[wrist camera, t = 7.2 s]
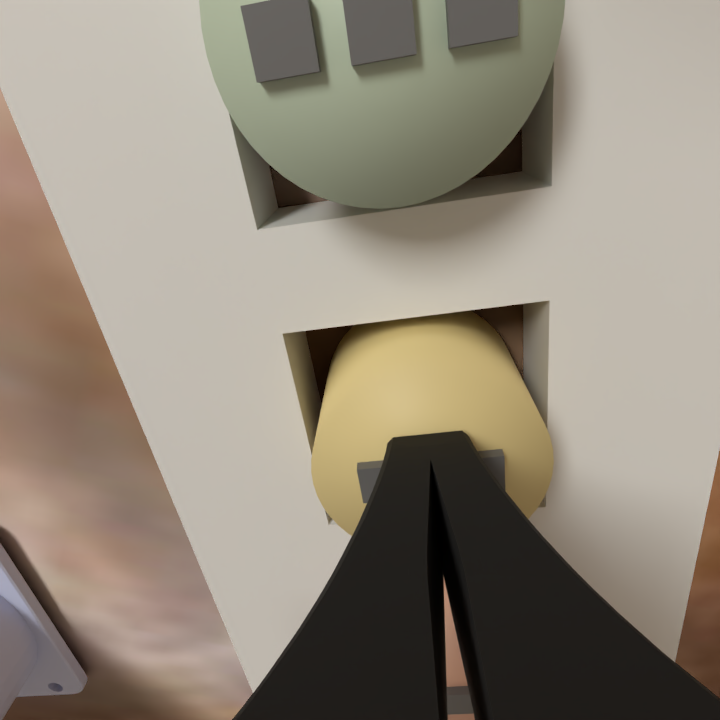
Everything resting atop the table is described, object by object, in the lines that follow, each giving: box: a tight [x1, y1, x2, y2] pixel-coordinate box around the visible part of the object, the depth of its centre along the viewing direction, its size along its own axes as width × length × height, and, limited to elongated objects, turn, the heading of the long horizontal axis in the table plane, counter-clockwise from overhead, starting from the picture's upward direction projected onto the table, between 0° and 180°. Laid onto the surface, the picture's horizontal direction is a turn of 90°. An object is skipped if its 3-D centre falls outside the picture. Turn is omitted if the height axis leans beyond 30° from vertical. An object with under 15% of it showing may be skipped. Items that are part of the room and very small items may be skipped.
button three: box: [199, 0, 565, 209], centre depth 7 cm, size 4×4×3 cm
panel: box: [0, 0, 720, 693], centre depth 11 cm, size 12×24×2 cm, turn 9°
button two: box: [311, 310, 554, 536], centre depth 11 cm, size 4×4×3 cm
